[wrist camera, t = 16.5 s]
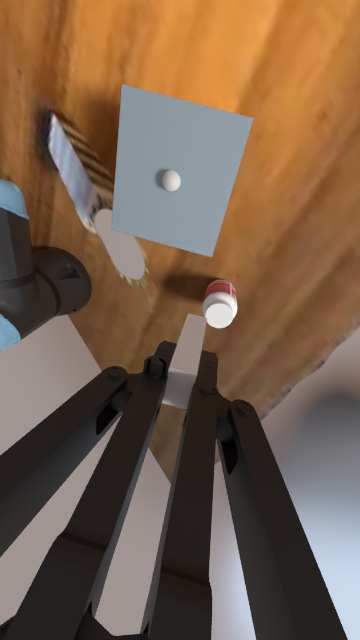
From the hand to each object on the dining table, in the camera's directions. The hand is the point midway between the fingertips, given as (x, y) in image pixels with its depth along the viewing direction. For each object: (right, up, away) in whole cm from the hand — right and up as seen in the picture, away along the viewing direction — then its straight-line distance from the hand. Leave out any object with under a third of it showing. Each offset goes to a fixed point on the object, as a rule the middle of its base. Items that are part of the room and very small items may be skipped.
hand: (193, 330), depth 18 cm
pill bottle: (+7, +7, +29) cm, 31 cm away
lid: (-2, +20, +14) cm, 25 cm away
